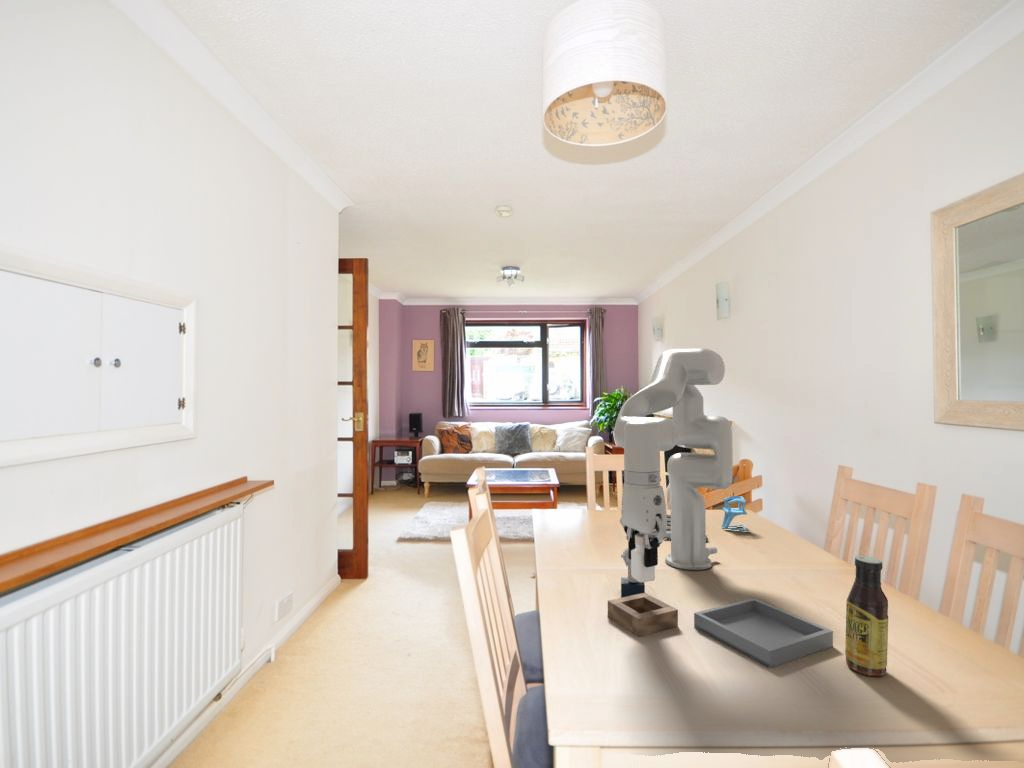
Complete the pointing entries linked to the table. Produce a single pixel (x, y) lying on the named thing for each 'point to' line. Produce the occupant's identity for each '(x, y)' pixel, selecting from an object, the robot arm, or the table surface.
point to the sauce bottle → (867, 620)
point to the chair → (733, 512)
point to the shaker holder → (642, 614)
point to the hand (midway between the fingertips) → (642, 561)
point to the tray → (763, 631)
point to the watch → (630, 580)
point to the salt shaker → (640, 561)
